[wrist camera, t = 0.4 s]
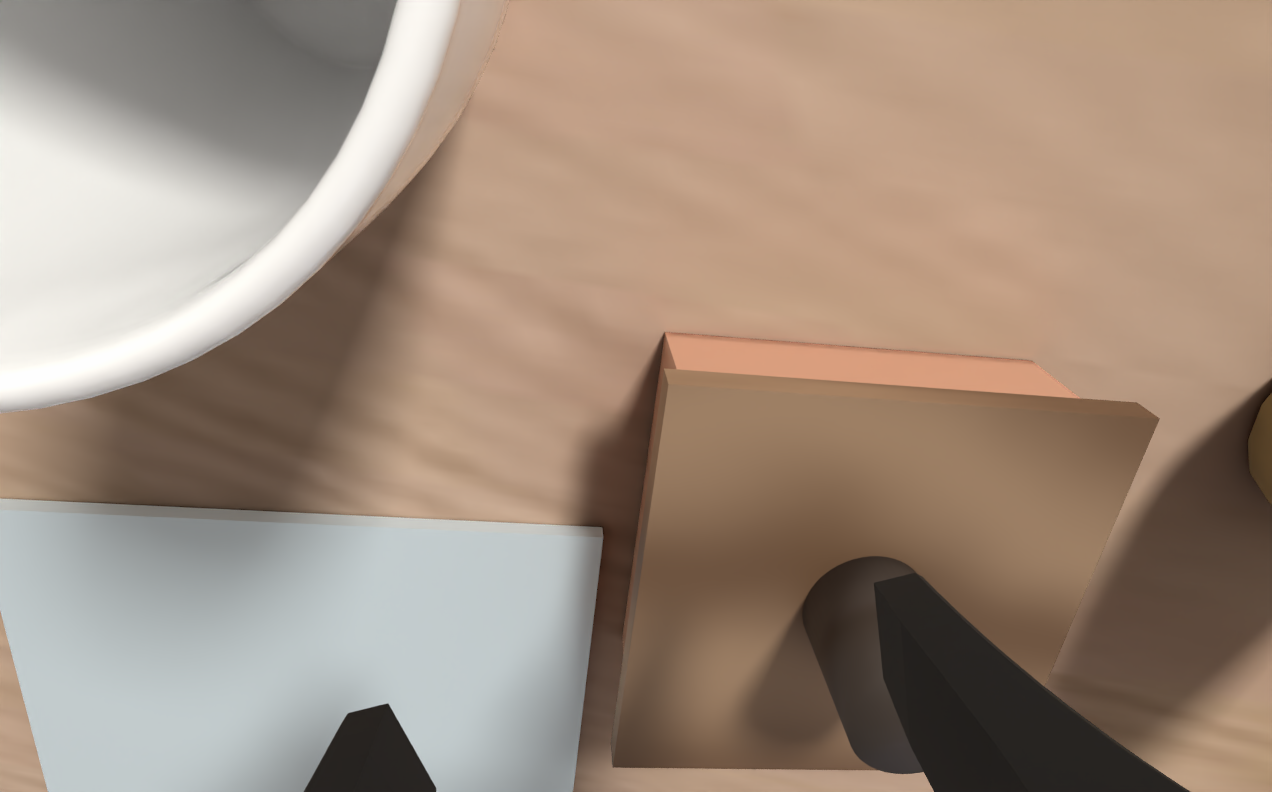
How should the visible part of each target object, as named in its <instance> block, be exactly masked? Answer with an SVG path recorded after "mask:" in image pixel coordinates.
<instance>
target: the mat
mask: <svg viewBox="0 0 1272 792" xmlns="http://www.w3.org/2000/svg"><path fill="white" fill-rule="evenodd" d="M602 544H603V528H602V527H588V526H567V525H546V524H525V523H504V522H483V521H462V520H441V519H420V518H399V517H378V516H357V515H336V514H315V513H294V512H273V511H252V510H231V509H210V508H189V507H168V506H147V505H126V504H105V503H83V502H62V501H41V500H20V499H0V611H1V615H2V619H3V623H4V626H5V630H6V634H7V638H8V642H9V645H10V649H11V653H12V657H13V661H14V664H15V668H16V672H17V676H18V680H19V683H20V687H21V691H22V695H23V699H24V702H25V706H26V710H27V714H28V718H29V721H30V725H31V729H32V733H33V737H34V740H35V744H36V748H37V752H38V756H39V759H40V763H41V767H42V771H43V775H44V778H45V782H46V786H47V790H48V792H304V790H305V788H306V786H307V785H308V783H309V781H310V779H311V777H312V776H313V774H314V772H315V770H316V768H317V767H318V765H319V763H320V761H321V759H322V757H323V756H324V754H325V752H326V750H327V748H328V747H329V745H330V743H331V741H332V739H333V737H334V736H335V734H336V732H337V730H338V729H339V727H340V725H341V723H342V722H343V720H344V718H345V717H346V715H347V714H348V713H350V712H355V711H359V710H363V709H367V708H371V707H375V706H379V705H383V704H387V703H388V704H389V705H390V707H391V709H392V711H393V712H394V714H395V716H396V718H397V720H398V721H399V723H400V725H401V727H402V728H403V730H404V732H405V734H406V735H407V737H408V739H409V741H410V743H411V744H412V746H413V748H414V750H415V751H416V753H417V755H418V757H419V758H420V760H421V762H422V764H423V765H424V767H425V769H426V771H427V773H428V774H429V776H430V778H431V780H432V781H433V783H434V785H435V787H436V792H573V787H574V779H575V771H576V762H577V754H578V745H579V737H580V729H581V720H582V712H583V703H584V695H585V687H586V678H587V670H588V662H589V653H590V645H591V636H592V628H593V620H594V611H595V603H596V594H597V586H598V578H599V569H600V561H601V553H602Z"/></svg>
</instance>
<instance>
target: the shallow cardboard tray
mask: <svg viewBox="0 0 1272 792" xmlns="http://www.w3.org/2000/svg"><path fill="white" fill-rule="evenodd" d="M664 368H665V369H679V370H693V371H707V372H720V373H734V374H748V375H762V376H776V377H789V378H803V379H817V380H831V381H845V382H858V383H872V384H886V385H900V386H914V387H927V388H941V389H955V390H969V391H982V392H996V393H1010V394H1024V395H1038V396H1051V397H1065V398H1079V397H1078V396H1077V395H1075V394H1074V393H1073V392H1071V391H1070V390H1069V389H1068V388H1066V387H1065V386H1064V385H1062V384H1061V383H1060V382H1059V381H1057V380H1056V379H1055V378H1053V377H1052V376H1051V375H1049V374H1048V373H1047V372H1046V371H1044V370H1043V369H1042V368H1040V367H1039V366H1038V365H1037V364H1035V363H1034V362H1033V361H1029V360H1016V359H1003V358H991V357H978V356H965V355H952V354H939V353H927V352H914V351H901V350H888V349H875V348H863V347H850V346H837V345H824V344H811V343H799V342H786V341H773V340H760V339H747V338H734V337H722V336H709V335H696V334H683V333H670V332H665V335H664V342H663V349H662V356H661V364H660V371H659V378H658V385H657V392H656V399H655V407H654V414H653V421H652V428H651V435H650V442H649V450H648V457H647V464H646V471H645V478H644V485H643V493H642V500H641V507H640V514H639V521H638V528H637V536H636V543H635V550H634V557H633V564H632V571H631V579H630V586H629V593H628V600H627V607H626V614H625V622H624V629H623V636H622V641H623V651H624V647H625V640H626V632H627V625H628V618H629V611H630V604H631V597H632V590H633V583H634V576H635V569H636V562H637V555H638V548H639V541H640V534H641V527H642V520H643V513H644V506H645V498H646V491H647V484H648V477H649V470H650V463H651V456H652V449H653V442H654V435H655V428H656V421H657V414H658V407H659V400H660V393H661V386H662V379H663V372H664ZM1079 399H1081V398H1079Z"/></svg>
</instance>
